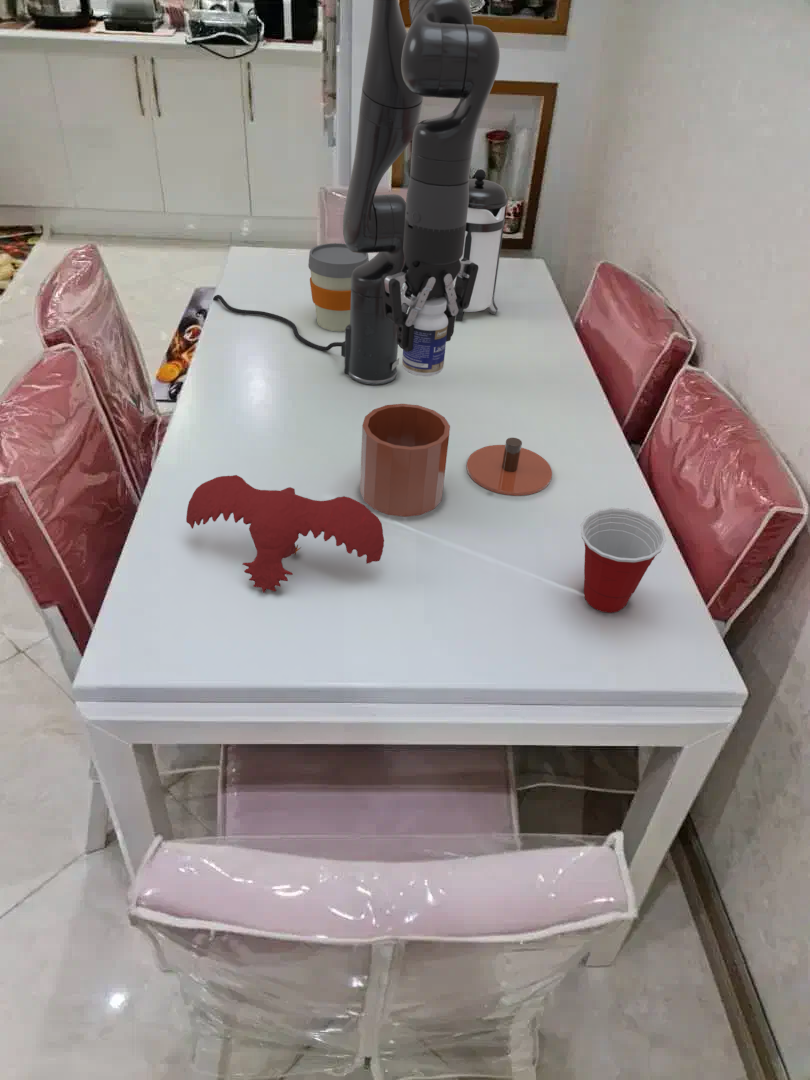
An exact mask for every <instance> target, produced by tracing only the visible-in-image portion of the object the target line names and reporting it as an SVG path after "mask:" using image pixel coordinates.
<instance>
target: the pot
mask: <svg viewBox="0 0 810 1080" xmlns="http://www.w3.org/2000/svg"><path fill="white" fill-rule="evenodd" d="M361 426H362V429H361V451H360V453H361V455H360V481H359V492H360V495H361V497H362V500H363V502H365V504H367V505H368V506H369V507H370V508H371V509H373V510H375V511H377V512H379V513H383V514H385V515H387V516H393V517H394V516H395V517H402V518H406V517H414V516H422V515H424V514H426V513H429V512H431V511H433V510H435V509H436V508H437V507H438V505H440V503H441V502H442V500H443V493H444V483H445V474H446V466H447V460H448V459H447V458H448V449H449V442H450V441H449V439H450V431H451V425H450V424H449V422H448V421H447V419H446V417H445V416H443V415H442V414H440V413H438V411H435V410H434V409H431V408H428V407H425V406H422V405H419V404H411V403H393V404H385V405H382V406H380V407H377V408H374V409H372V410H371V411H370V412H369V413H367V414H366V415H365V416H364V419H363V422H362V425H361Z"/></svg>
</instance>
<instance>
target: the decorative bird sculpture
mask: <svg viewBox="0 0 810 1080" xmlns="http://www.w3.org/2000/svg"><path fill="white" fill-rule="evenodd" d="M186 509H187V510H186V517H185V518H186V520H185V522H186V523H187V524H188V525H189V526H190V528H191V529H193V530H194V527H195V524H196V525H197V526H200V524H201V523H202V525H206V524H207V523H208V522H209V520H210V519H212V521H213V522H214V523H215V522H216V521H217V520H218V519H219V517H220V516H221V515H222V516H223V517H222V518H223V520H224V521H225V522H228V521H229V518H230V517H231V514H232V515H233V521H234V522H235V524H236V523H238V522H239V521H240V520H242V522H243V524H244V525H249V528H248V531H249V534H250V537H251V539H252V541H253V545H254V548H255V550H256V556H255V557H254V559H253V561H251V562H242V566H245V567H247V568H245V569H244V570H243V572H244V573H245V574H249V575H251V576H250V578H249V579H248V581H251V582H254V583H253V585H252V587H253V588H259V589H261V593H263V594H265V593H266V591H267V590H268V591H271V592H276V591H277V589H276V587H278V588H281V586H282V585H281V583H280V582H281V581H282V582H283V581H284V582H288V581H289V580H288V577H287V576H294V573H293V572H292V571H290V570H287V569H285V568H284V566H283V559H286V558H289V557H291V556H292V555H296V554H297V552H298V551H299V550H300V549H301V548H302V546H300V547H298V546H299V544H297V545H296V543H297V541H298V539H299V537H300V536H299V535H301V536H303V537H307V536H308V535H309V532H311V533H312V536H313V538H314V539H317V538H318V537H319V536H320V535H321V534H322V533H323V541H324V542H327V541H329V540H330V539H331V538H332V537H334V539H335V546H336V547H340V546H342V545H343V544H344V546H345V551H346V552H347V554H350V555H351V554H352V553H353V551H354V550H355V551H356V555H357V557H358V558H362V557H363V556H366V560H365V561H366V563H365V564H367V565H368V564H371V563H372V562H373V563H374V562H380V561H381V558H382V555H383V552H384V548H385V547H384V546H385V538H384V530H383V524H382V522H381V520H380V519H379V516H377V515H376V514H375V513H373V512H372V511H371V510H370V509H369V508H368V507H367V506H366V505H365V504H363V503H362V502H359V501H358V500H356V499H353V498H351V497H349V496H344V495H343V496H338V497H335V498H332V499H326V500H317V499H311V498H308V497H304V496H302V495H299V494H296V490H295V488H294V487H291V486H290V487H286V488H283V489H281V490H278V489H273V490H272V489H271V490H269V489H258V488H255V487H253V486H252V485H250V484H249V483H248V482H246V480H245V479H244V478H243V477H241V476H239V475H237V474H234V475H222V476H216V477H214V478H212V479H210V480H207V481H205V482H203V483H201V484H200V485H199V486H198V487H196V489H195V490H194V492H193V493H192V496H191V497H190V499H189V501H188V504H187V508H186ZM286 575H287V576H286Z"/></svg>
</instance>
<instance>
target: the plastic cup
mask: <svg viewBox="0 0 810 1080" xmlns="http://www.w3.org/2000/svg"><path fill="white" fill-rule="evenodd" d="M579 527H580V528H579V529H580V537H581V539H582V541H583V543H584V564H583V565H584V568H583V576H584V580H583V581H584V582H583V594H584V600H585V601H586V603H587V604H588V605H589V606H591V608H593V609H594V610H597V611H598V612H602V613H608V614H609V613H610V614H612V613H618V612H619V611H621V610H623V609H624V608H625V607H626V606H627V604H628V602H629V600H630V599H631V597H632V595H633V594H634V593H635V592H636V590H637V588H638V586H639V584H640V583H641V581H642V579H643V577H644V576H645V574H646V572H647V570H648V569H649V567H650V566H651V564H652V562H653V561H654V560H655V558H656V557H657V555H659V554H660V553H661V552H662V551H663V549H664V546H665V544H666V542H667V536H666V533H665V529H664V528H663V527H662V526H661V525H660V524H659V523H658V521H657V520H656V519H654V518H652V517H651V516H649V515H647V514H645V513H643V512H641V511H637V510H634V509H631V508H627V507H607V508H602V509H597V510H594V511H593V512H591V513H590V514H588V515H586V516H585V517H584V518H583V520H582V521H581V524H580V525H579Z"/></svg>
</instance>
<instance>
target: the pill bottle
mask: <svg viewBox="0 0 810 1080" xmlns="http://www.w3.org/2000/svg"><path fill="white" fill-rule="evenodd" d="M416 298H417V297H415V296H414V295H412V299H413V300H416ZM446 305H447V300H446V299H445V298H444V297H440V298H431V299H430V300H427V301H425V304H424V306H423V308H422V310H421V311H418V313H417V315H416V318H415V320H414V322H413V324H412V325H414V335H413V348H412V351H408V352H406V351H404V350H403V349H402V360H401V365H402V367H403V369H404V370H405V372H407V373H409V374H411V375H415V376H419V377H432V376H437V375H439V373H441V372H442V371H443V369H444V366H445V355H446V347H447V342H446V338H447V329H448V318H447V316H446V315H445V314H444V311H445V310H446Z"/></svg>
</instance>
